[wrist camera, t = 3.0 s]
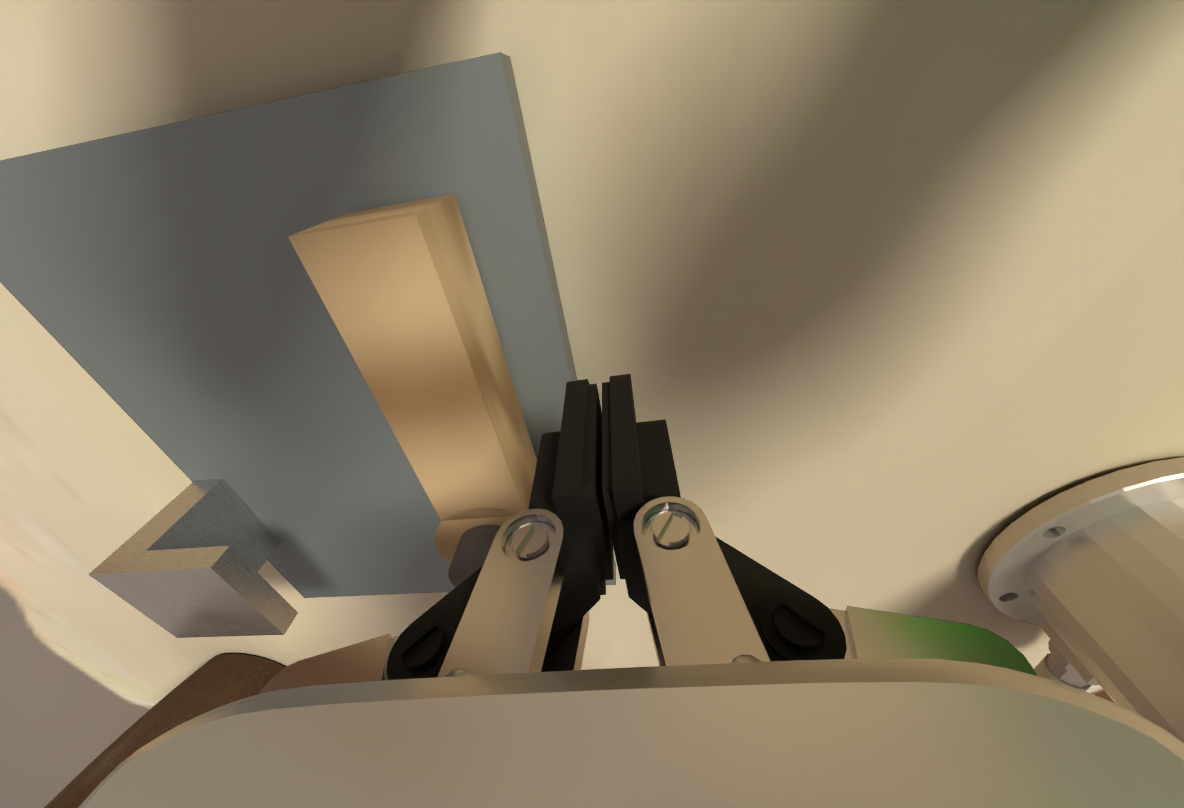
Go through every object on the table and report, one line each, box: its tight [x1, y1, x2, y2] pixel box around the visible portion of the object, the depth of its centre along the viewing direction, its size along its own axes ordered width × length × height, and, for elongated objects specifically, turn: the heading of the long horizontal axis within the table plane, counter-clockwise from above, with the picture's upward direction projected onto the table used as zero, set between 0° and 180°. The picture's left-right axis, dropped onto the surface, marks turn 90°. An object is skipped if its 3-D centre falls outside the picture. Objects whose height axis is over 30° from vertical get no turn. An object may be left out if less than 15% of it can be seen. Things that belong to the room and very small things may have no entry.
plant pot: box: [44, 654, 285, 808], centre depth 31 cm, size 15×15×16 cm
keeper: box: [89, 478, 298, 638], centre depth 21 cm, size 5×6×6 cm
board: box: [0, 52, 616, 598], centre depth 20 cm, size 24×20×1 cm
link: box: [288, 194, 537, 588], centre depth 16 cm, size 16×5×4 cm, turn 9°
